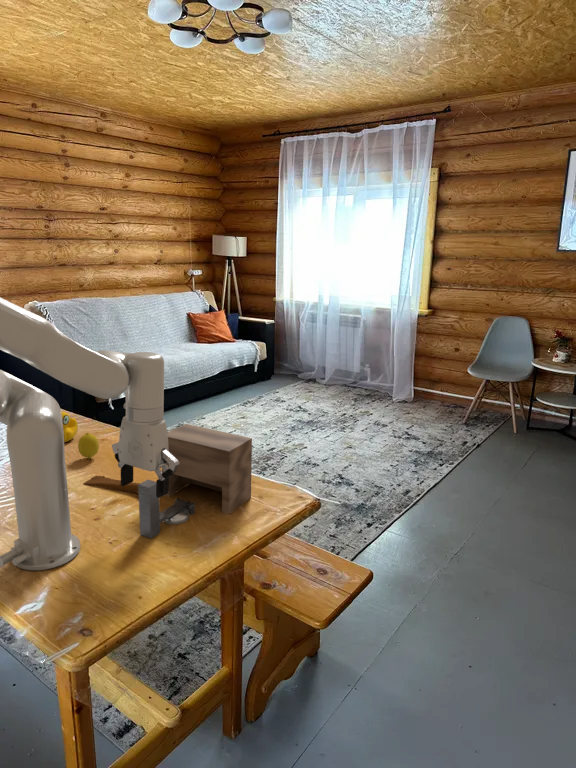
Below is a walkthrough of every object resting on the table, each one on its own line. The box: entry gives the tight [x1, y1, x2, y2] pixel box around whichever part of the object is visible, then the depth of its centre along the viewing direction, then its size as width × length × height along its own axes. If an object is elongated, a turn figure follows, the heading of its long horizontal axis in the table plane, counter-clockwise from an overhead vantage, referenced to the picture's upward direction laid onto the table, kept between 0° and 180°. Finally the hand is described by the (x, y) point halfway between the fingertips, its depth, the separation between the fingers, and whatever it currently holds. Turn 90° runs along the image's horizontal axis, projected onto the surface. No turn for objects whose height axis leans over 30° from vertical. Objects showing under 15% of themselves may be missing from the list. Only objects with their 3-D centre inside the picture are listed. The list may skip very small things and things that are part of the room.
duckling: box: [61, 410, 79, 443], centre depth 166 cm, size 11×5×10 cm, turn 164°
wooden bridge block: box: [161, 423, 253, 515], centre depth 132 cm, size 10×20×16 cm, turn 63°
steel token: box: [163, 508, 190, 525], centre depth 123 cm, size 6×6×2 cm
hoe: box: [137, 479, 196, 540], centre depth 119 cm, size 14×5×12 cm, turn 153°
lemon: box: [77, 432, 100, 460], centre depth 154 cm, size 6×6×8 cm
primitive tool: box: [82, 475, 141, 494], centre depth 138 cm, size 19×6×4 cm, turn 70°
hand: (144, 489), depth 113 cm, fingers open, 9 cm apart
